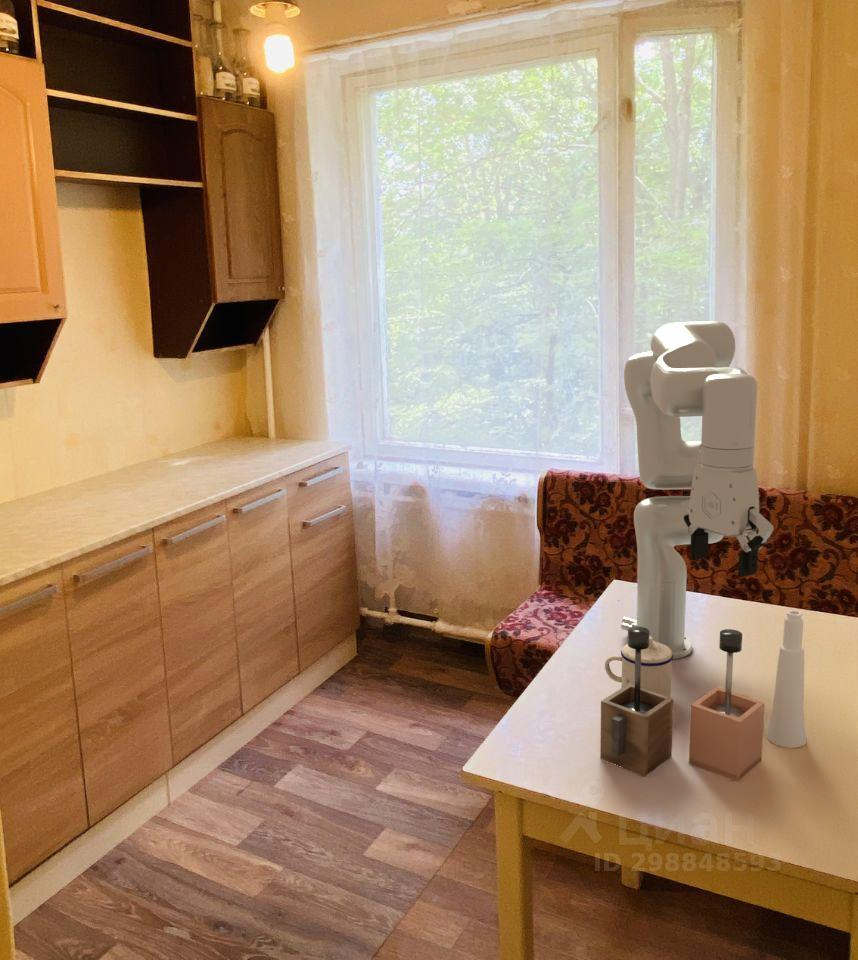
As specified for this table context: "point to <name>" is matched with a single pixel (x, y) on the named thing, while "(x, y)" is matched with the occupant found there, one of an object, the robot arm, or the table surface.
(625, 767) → the wooden handled box
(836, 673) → the table surface
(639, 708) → the dark metallic plunger
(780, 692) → the cosmetic bottle
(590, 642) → the table surface
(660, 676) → the teacup with lid
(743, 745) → the square planter pot
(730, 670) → the black knobbed plunger
